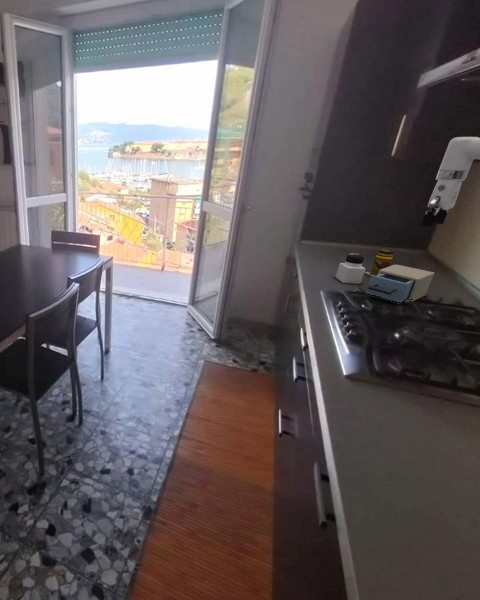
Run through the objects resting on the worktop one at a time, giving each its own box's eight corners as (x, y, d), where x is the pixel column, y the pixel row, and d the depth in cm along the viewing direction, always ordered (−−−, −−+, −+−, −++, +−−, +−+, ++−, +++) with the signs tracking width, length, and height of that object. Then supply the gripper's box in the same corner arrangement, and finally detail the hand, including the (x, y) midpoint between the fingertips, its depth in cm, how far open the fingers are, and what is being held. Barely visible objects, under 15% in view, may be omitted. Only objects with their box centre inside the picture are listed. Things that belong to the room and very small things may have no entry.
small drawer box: (409, 302, 135) (419, 279, 131) (371, 292, 145) (379, 269, 141) (425, 295, 142) (434, 272, 138) (387, 285, 152) (395, 264, 148)
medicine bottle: (361, 284, 154) (370, 257, 149) (342, 283, 155) (351, 256, 150) (352, 278, 160) (360, 252, 155) (335, 277, 161) (342, 252, 156)
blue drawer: (392, 307, 129) (400, 287, 126) (357, 297, 138) (363, 278, 135) (415, 297, 138) (423, 278, 135) (380, 287, 147) (387, 269, 144)
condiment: (375, 278, 160) (384, 252, 156) (362, 272, 168) (370, 247, 163) (391, 278, 160) (401, 252, 156) (377, 272, 168) (386, 247, 163)
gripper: (457, 177, 117) (436, 229, 124) (474, 175, 125) (454, 224, 132) (427, 175, 123) (409, 225, 130) (446, 174, 131) (428, 220, 138)
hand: (432, 224), depth 131 cm, fingers open, 9 cm apart
